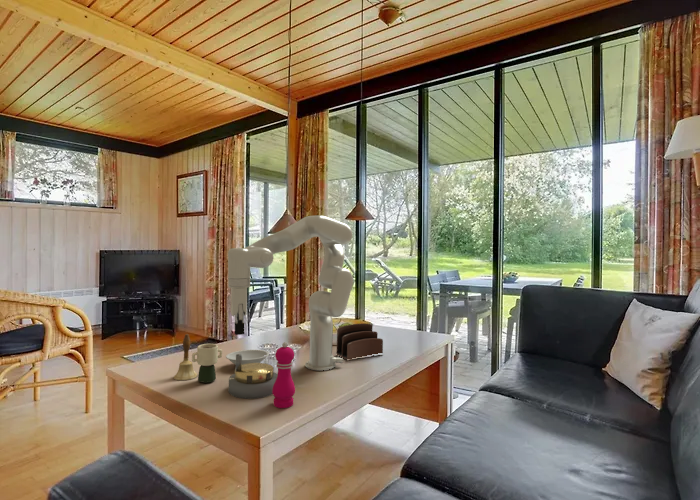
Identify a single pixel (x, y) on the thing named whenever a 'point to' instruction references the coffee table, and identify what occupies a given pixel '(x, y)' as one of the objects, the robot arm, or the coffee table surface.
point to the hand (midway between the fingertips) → (239, 333)
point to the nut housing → (251, 388)
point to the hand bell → (186, 363)
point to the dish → (248, 356)
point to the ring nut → (252, 372)
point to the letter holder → (358, 341)
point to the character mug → (207, 361)
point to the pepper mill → (284, 378)
